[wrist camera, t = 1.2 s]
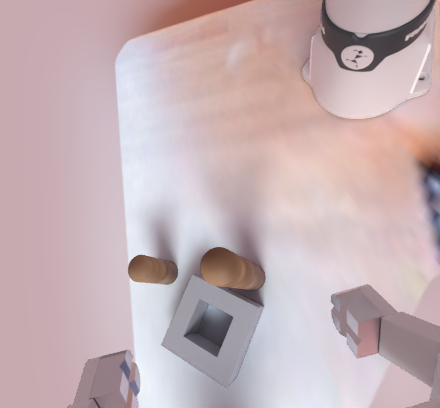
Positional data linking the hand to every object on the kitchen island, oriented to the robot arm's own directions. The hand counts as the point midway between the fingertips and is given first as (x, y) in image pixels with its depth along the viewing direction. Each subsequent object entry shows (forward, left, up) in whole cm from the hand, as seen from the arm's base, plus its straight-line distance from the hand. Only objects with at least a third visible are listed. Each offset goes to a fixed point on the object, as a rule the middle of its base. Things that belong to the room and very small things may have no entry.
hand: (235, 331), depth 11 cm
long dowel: (-1, -7, -30) cm, 31 cm away
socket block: (+7, -9, -30) cm, 32 cm away
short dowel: (+4, -20, -30) cm, 36 cm away
